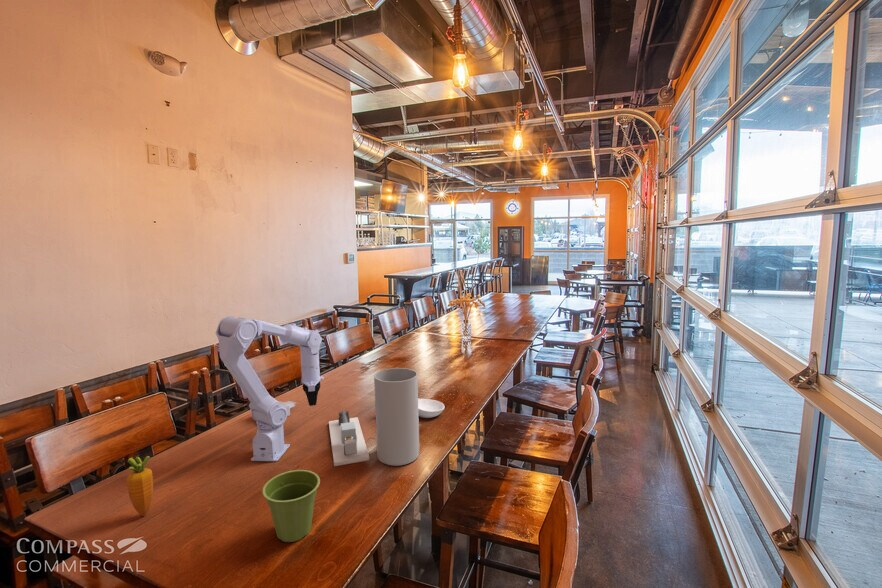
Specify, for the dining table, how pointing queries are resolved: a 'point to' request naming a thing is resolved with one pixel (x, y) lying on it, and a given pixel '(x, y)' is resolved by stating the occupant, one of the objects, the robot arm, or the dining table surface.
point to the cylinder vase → (397, 416)
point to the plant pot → (292, 502)
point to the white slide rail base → (347, 442)
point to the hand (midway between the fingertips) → (312, 404)
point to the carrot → (140, 485)
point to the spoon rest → (429, 408)
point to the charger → (287, 406)
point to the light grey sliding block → (348, 431)
